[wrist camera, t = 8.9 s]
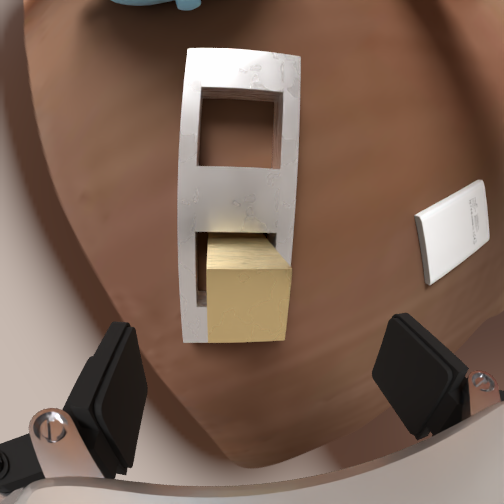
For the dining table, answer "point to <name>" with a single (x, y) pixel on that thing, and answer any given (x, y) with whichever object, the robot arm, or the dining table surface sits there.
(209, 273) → the gold rectangular block
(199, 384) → the dining table surface
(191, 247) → the grey slotted plate
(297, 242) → the dining table surface
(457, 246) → the external hard drive
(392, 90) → the dining table surface
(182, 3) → the decorative pot
